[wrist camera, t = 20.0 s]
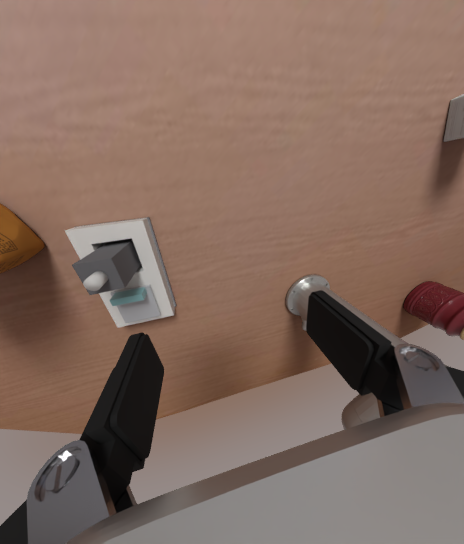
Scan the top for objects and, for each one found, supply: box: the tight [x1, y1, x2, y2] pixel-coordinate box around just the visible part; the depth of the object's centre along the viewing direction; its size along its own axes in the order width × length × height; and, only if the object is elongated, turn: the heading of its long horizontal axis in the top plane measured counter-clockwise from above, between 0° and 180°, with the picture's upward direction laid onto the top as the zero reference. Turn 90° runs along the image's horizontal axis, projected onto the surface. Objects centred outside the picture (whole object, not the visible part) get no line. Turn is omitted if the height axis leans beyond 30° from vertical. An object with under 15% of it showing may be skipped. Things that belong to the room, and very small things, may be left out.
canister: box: [404, 281, 464, 340], centre depth 51 cm, size 13×13×18 cm
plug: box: [72, 239, 141, 295], centre depth 26 cm, size 4×4×12 cm
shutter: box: [109, 285, 161, 323], centre depth 31 cm, size 7×7×3 cm
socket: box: [65, 217, 176, 327], centre depth 32 cm, size 20×12×4 cm, turn 6°
